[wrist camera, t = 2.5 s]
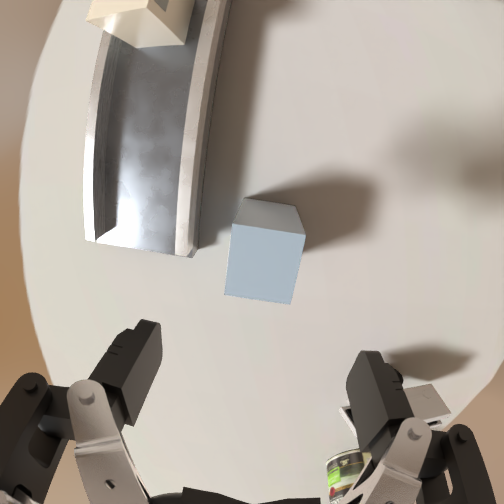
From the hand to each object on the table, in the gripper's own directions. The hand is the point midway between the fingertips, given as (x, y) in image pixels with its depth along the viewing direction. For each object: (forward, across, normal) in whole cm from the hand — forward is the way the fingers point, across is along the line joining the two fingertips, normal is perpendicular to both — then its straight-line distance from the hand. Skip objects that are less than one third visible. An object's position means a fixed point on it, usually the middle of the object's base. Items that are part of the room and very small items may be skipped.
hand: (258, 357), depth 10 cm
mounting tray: (+16, +11, -11) cm, 22 cm away
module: (+16, 0, 0) cm, 16 cm away
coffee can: (+17, -25, +44) cm, 53 cm away
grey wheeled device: (+13, -27, +18) cm, 35 cm away
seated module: (+14, +11, -18) cm, 25 cm away
